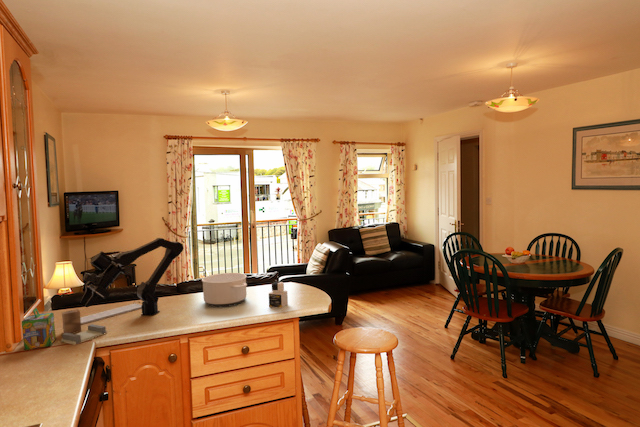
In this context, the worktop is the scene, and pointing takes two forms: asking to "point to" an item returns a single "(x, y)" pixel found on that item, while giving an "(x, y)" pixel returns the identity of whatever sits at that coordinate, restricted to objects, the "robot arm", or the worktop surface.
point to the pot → (224, 289)
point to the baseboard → (110, 313)
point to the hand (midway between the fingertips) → (83, 304)
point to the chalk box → (38, 330)
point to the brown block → (71, 321)
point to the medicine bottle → (278, 295)
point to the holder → (84, 334)
